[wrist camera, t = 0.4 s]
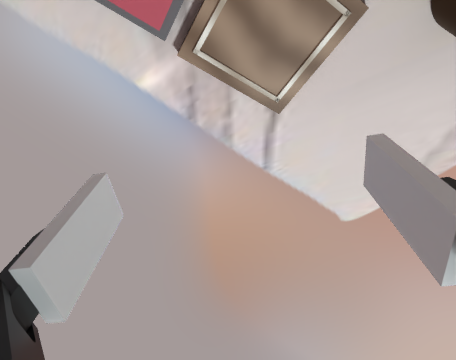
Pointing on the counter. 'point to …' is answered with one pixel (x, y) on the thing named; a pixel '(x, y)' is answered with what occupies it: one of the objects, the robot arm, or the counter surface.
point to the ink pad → (147, 13)
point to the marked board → (267, 43)
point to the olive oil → (445, 14)
